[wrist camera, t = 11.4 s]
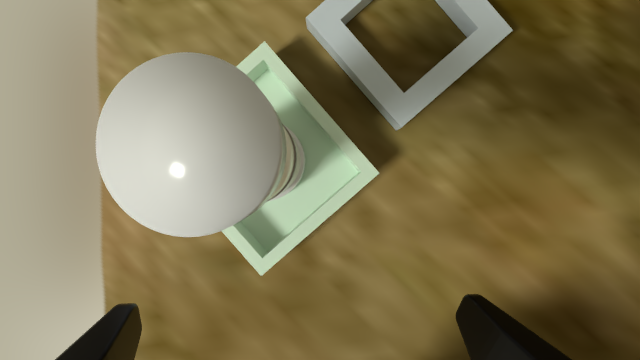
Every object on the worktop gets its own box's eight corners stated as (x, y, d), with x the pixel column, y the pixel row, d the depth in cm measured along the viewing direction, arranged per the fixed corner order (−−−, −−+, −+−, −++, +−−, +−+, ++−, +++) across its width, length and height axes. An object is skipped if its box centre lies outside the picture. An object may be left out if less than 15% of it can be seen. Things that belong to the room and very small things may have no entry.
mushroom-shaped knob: (317, 142, 21) (308, 98, 9) (287, 210, 21) (234, 266, 9) (248, 111, 21) (138, 22, 9) (218, 180, 21) (67, 191, 9)
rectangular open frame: (499, 40, 22) (513, 30, 20) (395, 130, 22) (401, 127, 20) (410, -64, 21) (416, -82, 20) (307, 28, 22) (305, 17, 20)
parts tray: (373, 172, 22) (379, 173, 19) (268, 264, 22) (261, 275, 20) (271, 56, 22) (264, 41, 19) (167, 149, 22) (147, 146, 20)
